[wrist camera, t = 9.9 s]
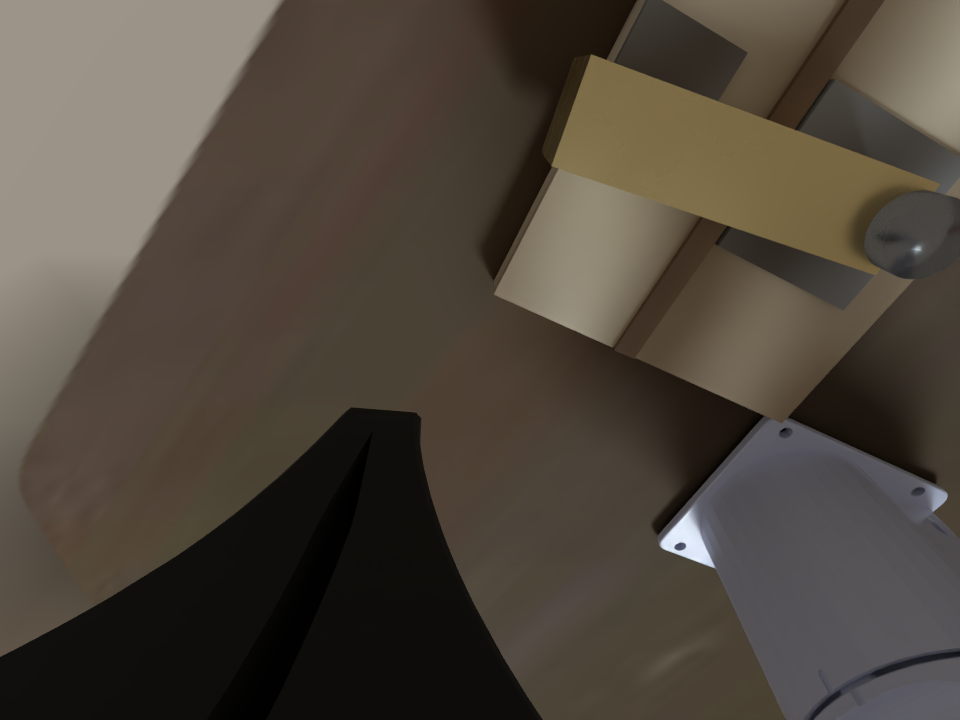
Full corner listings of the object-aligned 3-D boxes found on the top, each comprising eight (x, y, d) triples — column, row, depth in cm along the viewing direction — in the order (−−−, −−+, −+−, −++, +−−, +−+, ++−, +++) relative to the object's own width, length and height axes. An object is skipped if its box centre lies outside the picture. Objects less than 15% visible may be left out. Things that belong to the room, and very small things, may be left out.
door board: (1401, -316, 12) (1520, -366, 10) (766, 405, 21) (785, 428, 19) (1017, -748, 9) (1106, -885, 8) (493, 281, 18) (493, 297, 17)
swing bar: (897, 177, 15) (999, 202, 12) (845, 255, 16) (928, 296, 13) (573, 57, 14) (597, 52, 11) (540, 151, 15) (554, 171, 12)
